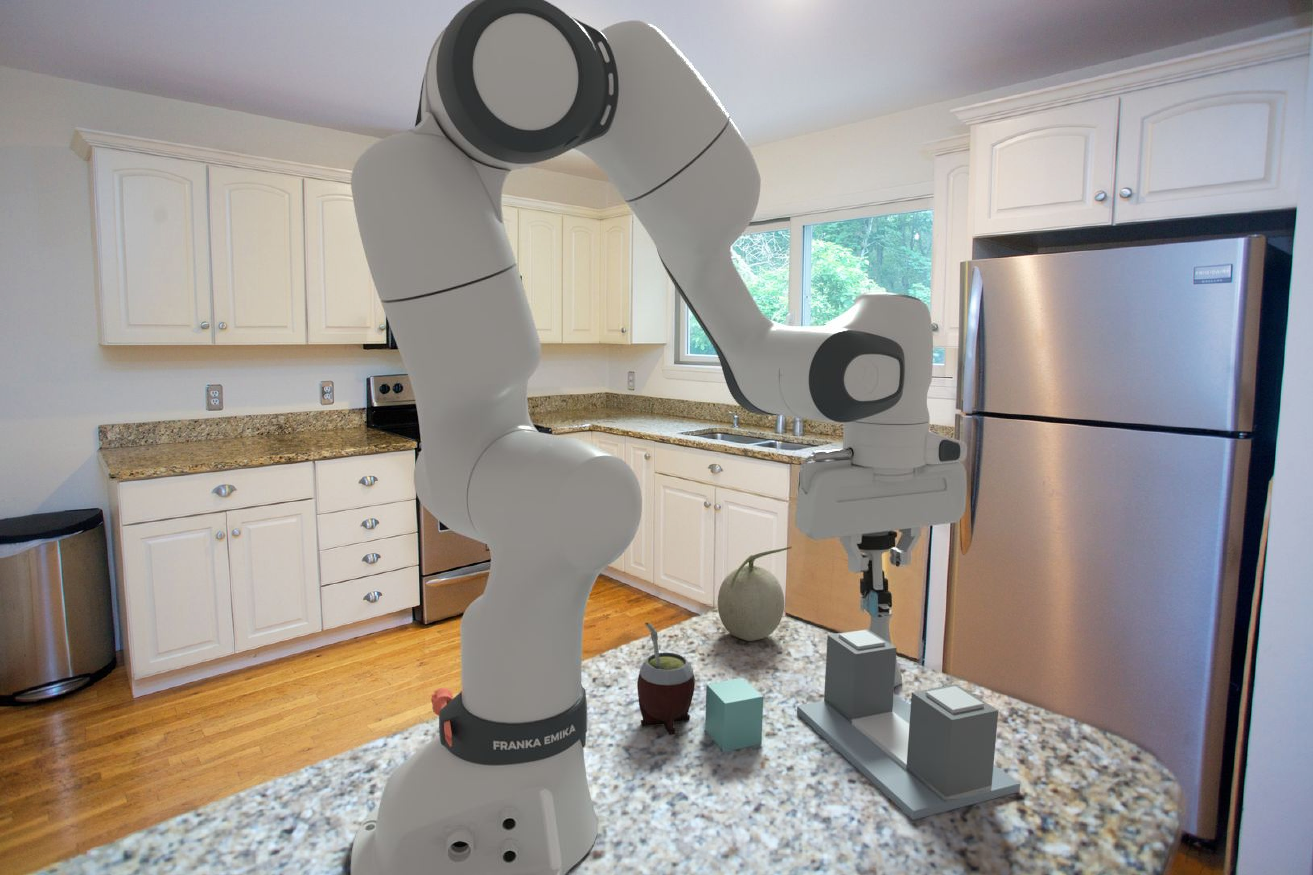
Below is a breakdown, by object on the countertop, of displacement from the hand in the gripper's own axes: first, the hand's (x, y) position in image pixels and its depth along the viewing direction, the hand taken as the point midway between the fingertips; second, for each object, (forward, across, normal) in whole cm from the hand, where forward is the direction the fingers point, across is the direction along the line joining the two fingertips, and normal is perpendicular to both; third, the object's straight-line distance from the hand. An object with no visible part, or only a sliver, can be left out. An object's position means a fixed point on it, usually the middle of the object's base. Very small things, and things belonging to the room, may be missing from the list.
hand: (878, 567), depth 81 cm
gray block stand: (+22, +4, 0) cm, 23 cm away
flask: (+23, +12, +16) cm, 31 cm away
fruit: (+23, +1, +34) cm, 41 cm away
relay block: (+16, -14, +8) cm, 23 cm away
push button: (+6, 0, 0) cm, 6 cm away
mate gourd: (+22, -20, +13) cm, 33 cm away
